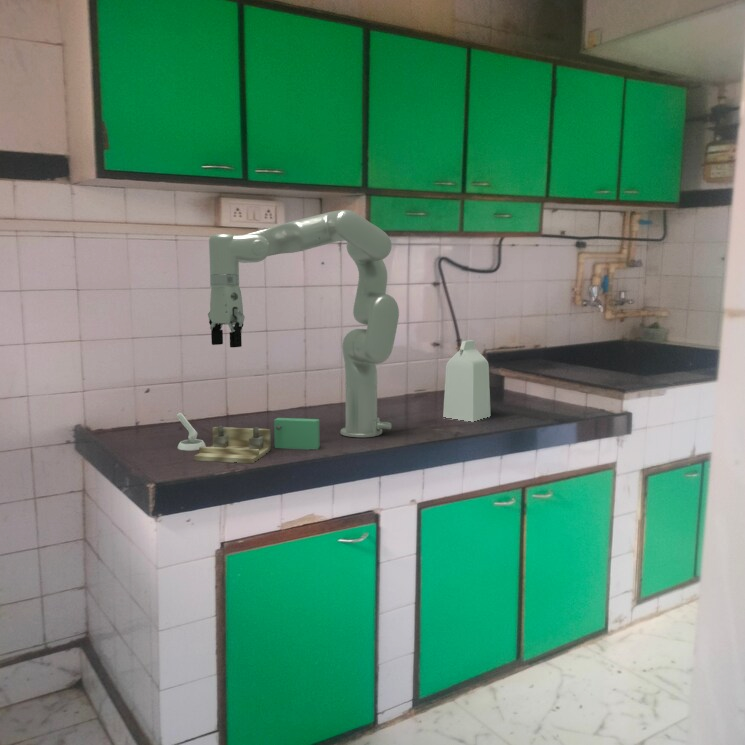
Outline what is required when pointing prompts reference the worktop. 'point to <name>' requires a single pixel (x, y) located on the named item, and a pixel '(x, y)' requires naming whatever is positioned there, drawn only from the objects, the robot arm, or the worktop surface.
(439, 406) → the worktop surface
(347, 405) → the robot arm
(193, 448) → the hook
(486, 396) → the milk
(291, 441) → the door
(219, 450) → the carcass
